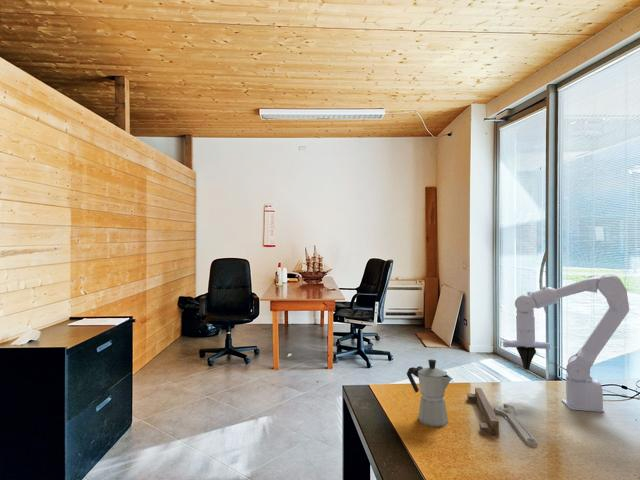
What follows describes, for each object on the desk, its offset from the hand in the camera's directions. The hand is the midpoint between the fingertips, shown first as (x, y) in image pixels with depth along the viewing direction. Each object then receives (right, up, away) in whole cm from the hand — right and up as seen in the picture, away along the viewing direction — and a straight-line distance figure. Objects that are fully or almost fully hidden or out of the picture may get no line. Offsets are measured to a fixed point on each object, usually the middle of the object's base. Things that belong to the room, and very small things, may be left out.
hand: (526, 368), depth 135 cm
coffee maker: (-39, -10, -18) cm, 44 cm away
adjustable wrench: (-16, -10, -22) cm, 28 cm away
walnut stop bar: (-22, -9, -16) cm, 29 cm away
